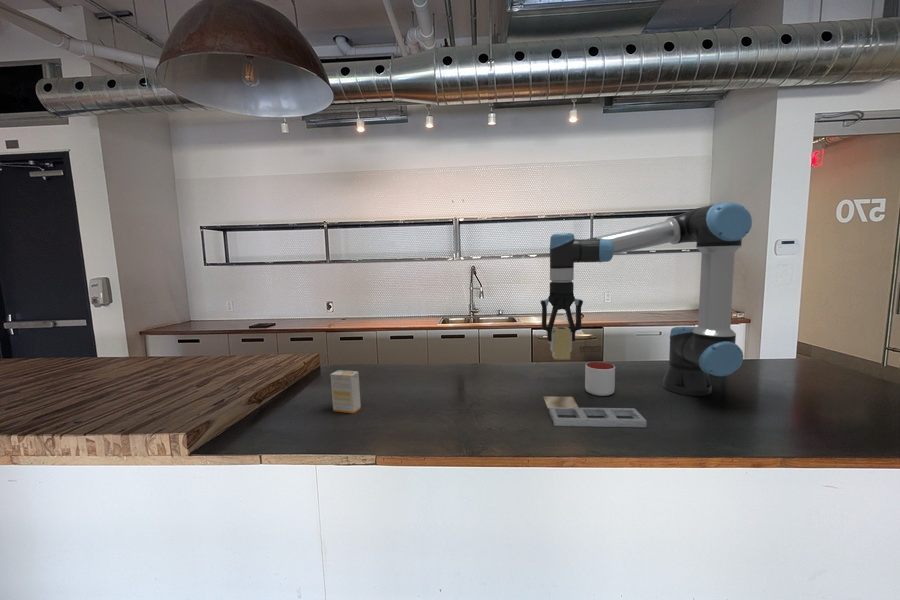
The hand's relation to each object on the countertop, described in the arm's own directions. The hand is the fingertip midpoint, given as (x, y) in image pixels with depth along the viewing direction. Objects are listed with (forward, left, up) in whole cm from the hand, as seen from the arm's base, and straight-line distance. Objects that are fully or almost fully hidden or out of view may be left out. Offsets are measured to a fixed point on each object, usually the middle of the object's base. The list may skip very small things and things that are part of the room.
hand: (560, 350), depth 127 cm
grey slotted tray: (-8, +13, -18) cm, 24 cm away
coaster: (0, 0, -18) cm, 18 cm away
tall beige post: (0, 0, -2) cm, 2 cm away
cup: (-16, -11, -19) cm, 27 cm away
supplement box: (+72, +8, -19) cm, 75 cm away
